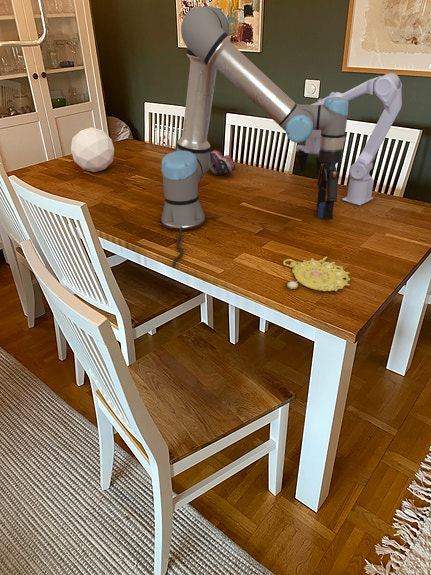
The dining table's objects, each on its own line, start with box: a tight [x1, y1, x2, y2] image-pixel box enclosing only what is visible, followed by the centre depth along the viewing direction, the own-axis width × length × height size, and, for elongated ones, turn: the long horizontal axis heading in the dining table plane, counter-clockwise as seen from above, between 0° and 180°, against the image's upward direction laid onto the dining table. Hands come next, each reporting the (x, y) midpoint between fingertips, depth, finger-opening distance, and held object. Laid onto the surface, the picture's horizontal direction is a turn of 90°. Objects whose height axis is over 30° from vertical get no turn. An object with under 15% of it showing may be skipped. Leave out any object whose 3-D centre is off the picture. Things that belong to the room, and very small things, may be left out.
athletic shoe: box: [208, 149, 237, 176], centre depth 198 cm, size 11×22×12 cm
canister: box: [317, 202, 325, 219], centre depth 156 cm, size 4×4×4 cm
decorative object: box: [282, 255, 351, 292], centre depth 122 cm, size 21×2×20 cm
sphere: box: [70, 126, 115, 173], centre depth 204 cm, size 19×20×20 cm
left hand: (324, 212), depth 156 cm, fingers open, 9 cm apart
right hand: (310, 172), depth 173 cm, fingers open, 7 cm apart
